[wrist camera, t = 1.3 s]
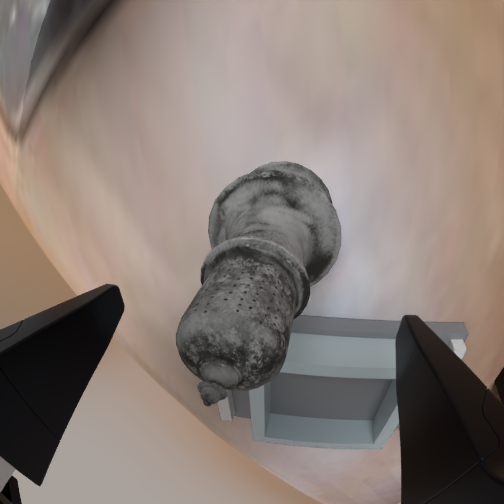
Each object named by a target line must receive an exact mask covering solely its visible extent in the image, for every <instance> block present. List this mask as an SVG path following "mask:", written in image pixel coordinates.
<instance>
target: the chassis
mask: <svg viewBox="0 0 504 504" xmlns="http://www.w3.org/2000/svg"><path fill="white" fill-rule="evenodd" d="M400 323H401V321H382V320H362V319H346V318H331V317H318V316H305V315H299V316H298V317H297V318H295V319H294V320H293V324H292V330H291V335H290V340H289V346H288V351H287V356H286V359H285V362H284V365H283V367H282V369H281V370H280V372H279V374H278V375H277V376H276V377H275V378H274V379H273V380H271V381H270V382H268V383H266V384H264V385H263V386H261V387H259V388H256V389H252V390H248V391H234V390H226V389H225V390H226V391H227V395H228V396H227V397H226V398H225V399H224V400H219V401H218V403H217V404H218V408H219V412H220V417H221V420H225V421H230V422H232V421H233V418H234V416H239V417H245V418H251V423H252V435H253V440H256V441H262V442H269V443H276V444H284V445H293V446H304V447H316V448H332V449H382V447H383V446H384V444H385V443H386V441H387V440H388V439H389V437H390V436H391V434H392V433H393V431H394V430H395V428H399V416H398V405H397V395H396V351H395V340H396V336H397V332H398V329H399V326H400ZM424 323H425V324H426V325H427V326H428V327H430V328H431V329H432V330H433V331H434V332H435V333H436V334H437V335H438V336H439V337H440V338H441V339H442V340H443V341H444V342H445V343H446V344H447V346H448V347H449V348H450V349H451V350H452V351H453V352H454V353H455V354H456V355H457V356H458V357H459V358H460V359H462V357H463V355H464V353H465V352H466V350H467V349H466V347H465V344H464V342H465V340H466V338H467V336H468V334H469V333H468V331H467V329H466V327H465V324H464V322H424Z"/></svg>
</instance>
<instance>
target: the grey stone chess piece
mask: <svg viewBox="0 0 504 504" xmlns="http://www.w3.org/2000/svg"><path fill="white" fill-rule="evenodd" d="M208 233H209V238H210V243H211V247H212V249H213V250H212V251H211V252H210V253H209V254H208V255H207V257H206V258H205V261H204V263H203V266H202V268H201V283H202V286H201V288H200V290H199V291H198V293H197V294H196V296H195V297H194V299H193V301H192V302H191V304H190V305H189V307H188V309H187V310H186V312H185V313H184V315H183V316H182V318H181V321H180V323H179V326H178V330H177V333H176V345H177V348H178V351H179V354H180V357H181V359H182V361H183V363H184V364H185V365H186V367H187V368H188V369H189V370H190V371H191V372H192V373H193V374H194V375H195V376H197V377H198V378H200V379H201V380H203V381H204V382H200V383H199V385H198V390H199V392H200V393H201V394H200V396H201V398H202V400H203V403H204V405H206V406H211V405H212V404H215V403H218V401H219V400H224V399H225V398H226V397H227V396H228V395H227V391H226V390H234V391H248V390H252V389H256V388H259V387H261V386H263V385H264V384H266V383H268V382H270V381H271V380H273V379H274V378H275V377H276V376H277V375H278V374H279V372H280V370H281V369H282V367H283V365H284V362H285V359H286V356H287V351H288V346H289V340H290V335H291V330H292V324H293V320H294V319H295V318H297V317H298V316H299V315H300V314H301V313H302V311H303V310H304V308H305V307H306V306H307V302H308V299H309V296H310V286H312V285H314V284H316V283H317V282H318V281H319V280H321V279H322V278H323V277H324V276H325V275H326V274H327V273H328V272H329V271H330V269H331V268H332V266H333V265H334V263H335V261H336V260H337V256H338V253H339V250H340V246H341V226H340V222H339V219H338V216H337V213H336V210H335V208H334V207H333V205H332V200H331V197H330V194H329V191H328V189H327V187H326V186H325V184H324V183H323V181H322V180H321V179H320V178H319V177H318V176H317V175H316V174H315V173H313V172H312V171H311V170H309V169H307V168H305V167H303V166H301V165H299V164H295V163H290V162H271V163H269V164H266V165H263V166H260V167H258V168H257V169H255V170H254V171H253V172H251V173H250V174H247V175H244V176H242V177H239V178H238V179H236V180H235V181H234V182H232V183H231V184H229V185H228V186H227V187H225V188H224V190H223V191H222V192H221V194H220V195H219V196H218V198H217V199H216V200H215V202H214V205H213V208H212V210H211V213H210V216H209V228H208ZM225 389H226V390H225Z"/></svg>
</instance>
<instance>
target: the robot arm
mask: <svg viewBox="0 0 504 504" xmlns="http://www.w3.org/2000/svg"><path fill="white" fill-rule="evenodd" d="M123 312H124V302H123V299H122V296H121V293H120V289H119V287H118V286H116V285H113V284H105V285H103V286H100V287H98V288H96V289H93V290H91V291H88V292H86V293H84V294H81V295H79V296H77V297H75V298H72V299H70V300H67V301H65V302H63V303H60V304H58V305H56V306H54V307H51V308H49V309H47V310H44V311H42V312H40V313H37V314H35V315H33V316H31V317H28V318H26V319H25V320H22V321H20V322H17V323H15V324H12V325H10V326H8V327H6V328H3V329H1V330H0V504H22V503H21V498H20V493H19V488H18V481H17V479H16V478H15V477H13V476H12V474H13V472H14V471H15V469H16V470H18V471H19V472H20V473H22V474H23V475H25V476H26V477H27V478H28V479H30V480H31V481H32V482H34V483H35V484H37V485H38V486H41V484H42V482H43V480H44V477H45V475H46V472H47V470H48V467H49V465H50V463H51V461H52V458H53V456H54V454H55V451H56V449H57V447H58V445H59V442H60V440H61V438H62V435H63V433H64V431H65V429H66V427H67V425H68V423H69V421H70V418H71V417H72V414H73V412H74V410H75V408H76V406H77V404H78V402H79V400H80V398H81V396H82V394H83V392H84V390H85V389H86V387H87V385H88V383H89V381H90V379H91V377H92V375H93V373H94V371H95V370H96V368H97V366H98V364H99V362H100V360H101V358H102V357H103V355H104V353H105V351H106V349H107V347H108V345H109V343H110V341H111V339H112V337H113V334H114V332H115V330H116V328H117V325H118V323H119V321H120V319H121V316H122V314H123ZM395 351H396V395H397V405H398V416H399V429H400V446H401V504H504V368H503V369H502V371H501V372H500V374H499V375H498V377H497V378H496V380H495V384H496V387H497V390H498V392H499V395H500V398H501V402H502V403H501V402H500V401H499V400H498V399H497V398H496V397H495V396H494V394H493V393H492V392H491V391H490V390H489V389H487V387H486V386H485V385H484V384H483V382H482V381H481V380H480V379H479V378H478V377H477V376H476V375H475V374H474V373H473V372H472V371H471V369H470V368H469V367H468V366H467V365H466V364H465V363H464V362H463V361H462V360H461V359H460V358H459V357H458V356H457V355H456V354H455V353H454V352H453V351H452V350H451V349H450V348H449V347H448V346H447V344H446V343H445V342H444V341H443V340H442V339H441V338H440V337H439V336H438V335H437V334H436V333H435V332H434V331H433V330H432V329H431V328H430V327H428V326H427V325H426V324H425V323H424V322H423V321H422V320H421V319H420V318H419V317H418V316H416V315H405V316H403V318H402V320H401V323H400V326H399V329H398V332H397V336H396V340H395Z"/></svg>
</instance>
